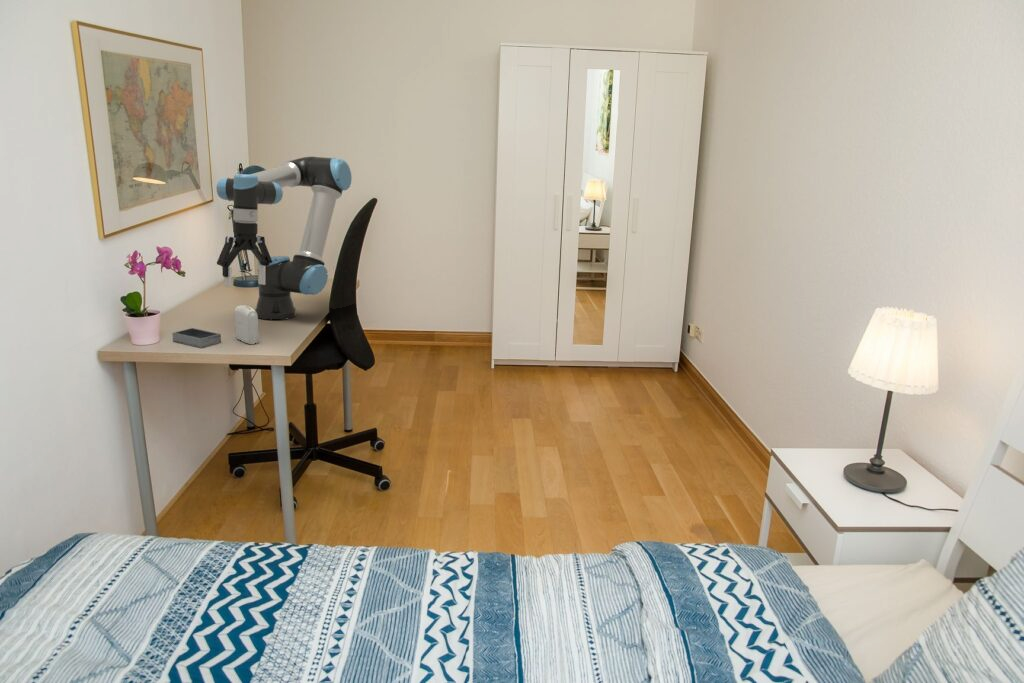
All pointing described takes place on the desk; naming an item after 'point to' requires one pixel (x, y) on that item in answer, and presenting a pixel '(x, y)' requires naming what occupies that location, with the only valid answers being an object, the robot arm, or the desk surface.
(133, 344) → the desk surface
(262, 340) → the desk surface
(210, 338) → the grey rectangular tray
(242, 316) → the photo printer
